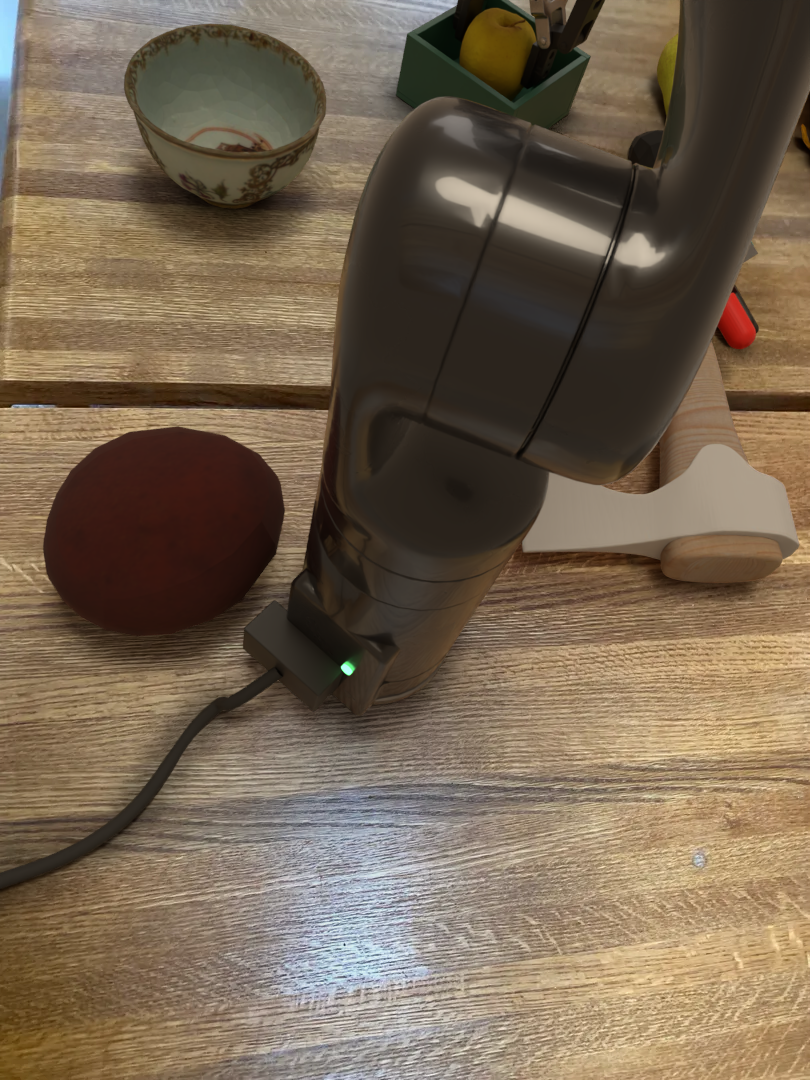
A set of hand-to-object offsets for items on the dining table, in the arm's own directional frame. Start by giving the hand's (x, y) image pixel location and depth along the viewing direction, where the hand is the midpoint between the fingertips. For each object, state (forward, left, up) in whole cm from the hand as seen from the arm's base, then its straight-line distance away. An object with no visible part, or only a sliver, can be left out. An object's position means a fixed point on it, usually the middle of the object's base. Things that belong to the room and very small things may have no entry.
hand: (497, 60), depth 72 cm
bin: (0, 0, -4) cm, 4 cm away
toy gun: (-8, -26, -1) cm, 27 cm away
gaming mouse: (+4, -18, -4) cm, 19 cm away
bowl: (-24, +7, -4) cm, 25 cm away
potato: (-50, -15, +6) cm, 52 cm away
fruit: (+20, -9, 0) cm, 22 cm away
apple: (0, 0, -4) cm, 4 cm away
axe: (-6, -17, -2) cm, 18 cm away
